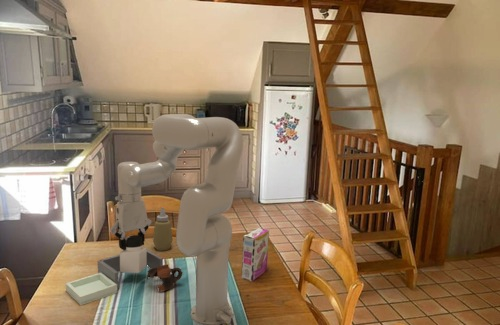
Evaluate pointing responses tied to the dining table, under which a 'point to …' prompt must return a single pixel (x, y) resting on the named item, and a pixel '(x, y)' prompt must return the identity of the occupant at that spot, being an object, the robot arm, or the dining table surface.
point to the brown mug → (165, 276)
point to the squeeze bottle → (162, 232)
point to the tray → (91, 288)
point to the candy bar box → (255, 254)
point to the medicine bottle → (133, 255)
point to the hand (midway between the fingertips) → (132, 246)
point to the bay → (112, 265)
